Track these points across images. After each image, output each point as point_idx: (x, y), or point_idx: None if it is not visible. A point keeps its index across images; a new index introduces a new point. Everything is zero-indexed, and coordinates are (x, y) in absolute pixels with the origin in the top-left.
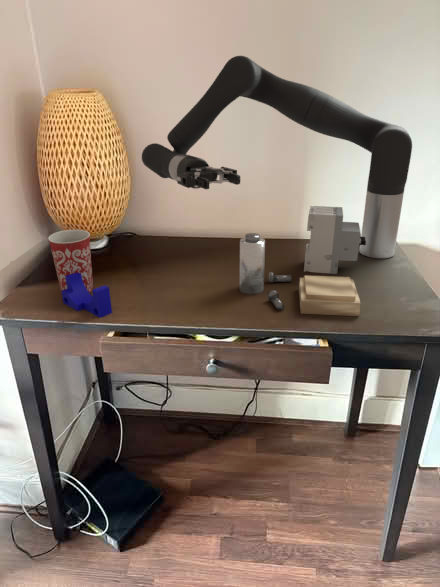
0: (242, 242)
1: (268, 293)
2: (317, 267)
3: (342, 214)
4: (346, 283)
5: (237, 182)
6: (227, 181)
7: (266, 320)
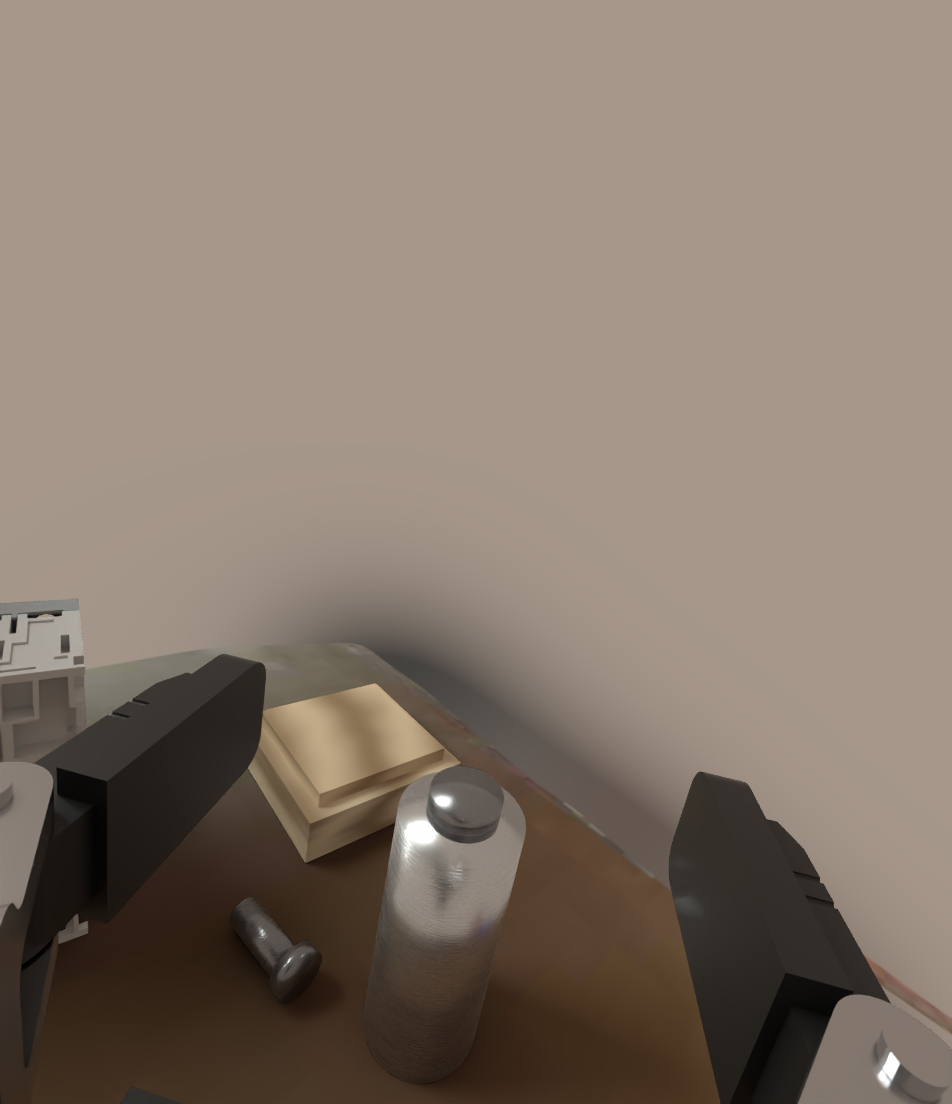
0: (520, 834)
1: None
2: None
3: (57, 600)
4: (311, 707)
5: (259, 731)
6: (47, 977)
7: (554, 840)
